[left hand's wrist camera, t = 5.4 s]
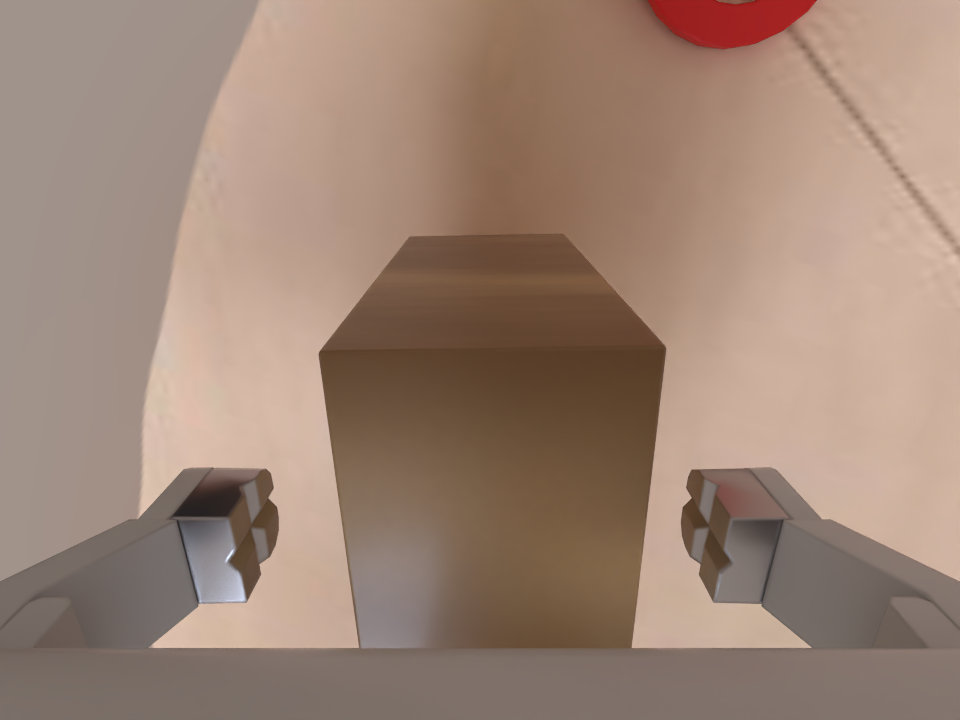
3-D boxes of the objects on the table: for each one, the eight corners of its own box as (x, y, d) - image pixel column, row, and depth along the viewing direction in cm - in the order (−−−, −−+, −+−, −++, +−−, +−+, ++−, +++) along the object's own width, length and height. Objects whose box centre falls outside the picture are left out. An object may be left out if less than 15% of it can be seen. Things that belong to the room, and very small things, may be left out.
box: (409, 236, 21) (316, 352, 10) (564, 233, 21) (668, 345, 9) (439, 699, 31) (413, 1043, 19) (546, 698, 31) (586, 1042, 19)
